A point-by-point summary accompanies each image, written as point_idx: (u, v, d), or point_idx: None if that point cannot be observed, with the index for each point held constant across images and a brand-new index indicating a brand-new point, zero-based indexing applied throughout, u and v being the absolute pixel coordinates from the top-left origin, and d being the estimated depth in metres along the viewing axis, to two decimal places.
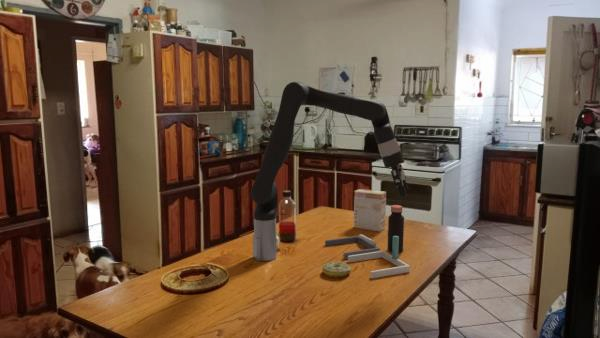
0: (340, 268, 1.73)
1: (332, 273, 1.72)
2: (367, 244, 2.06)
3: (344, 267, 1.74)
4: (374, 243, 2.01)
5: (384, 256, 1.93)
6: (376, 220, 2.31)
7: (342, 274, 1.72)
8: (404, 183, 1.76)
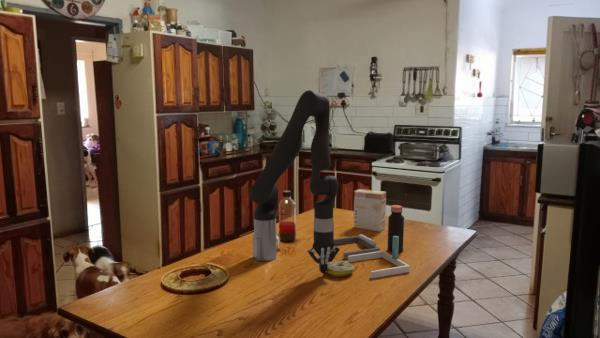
0: (343, 267, 1.74)
1: (335, 272, 1.73)
2: (367, 244, 2.06)
3: (347, 266, 1.75)
4: (374, 243, 2.01)
5: (384, 256, 1.93)
6: (376, 220, 2.31)
7: (345, 273, 1.73)
8: None
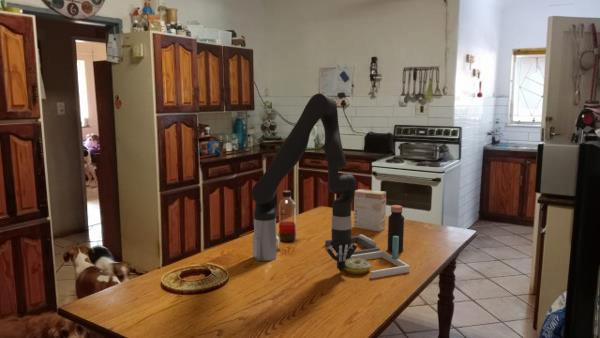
0: (360, 265, 1.76)
1: (352, 269, 1.75)
2: (367, 244, 2.06)
3: (364, 264, 1.77)
4: (374, 243, 2.01)
5: (384, 256, 1.93)
6: (376, 220, 2.31)
7: (362, 270, 1.75)
8: None
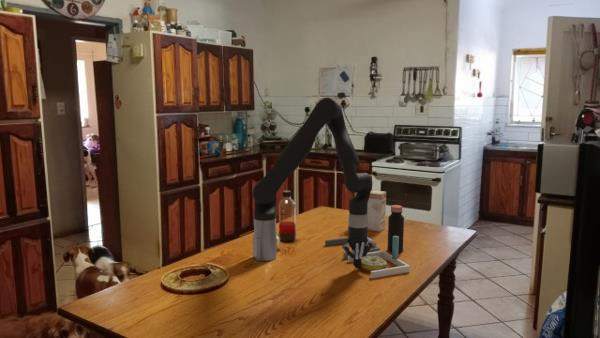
0: (376, 262, 1.79)
1: (368, 267, 1.78)
2: None
3: (380, 261, 1.80)
4: (374, 243, 2.01)
5: (384, 256, 1.93)
6: (376, 220, 2.31)
7: (378, 268, 1.78)
8: None
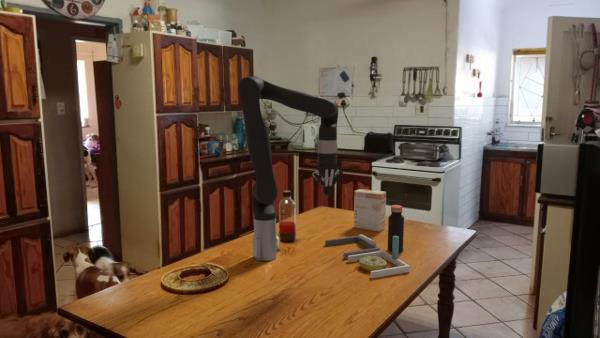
0: (376, 262, 1.79)
1: (368, 267, 1.78)
2: (367, 244, 2.06)
3: (380, 261, 1.80)
4: (374, 243, 2.01)
5: (384, 256, 1.93)
6: (376, 220, 2.31)
7: (378, 268, 1.78)
8: None
